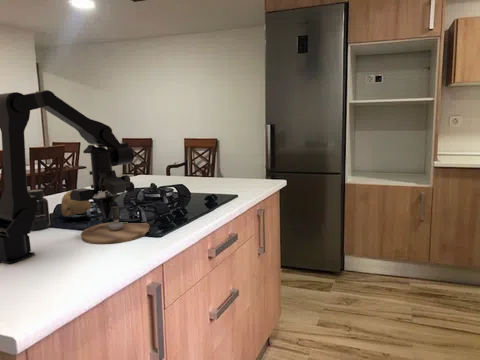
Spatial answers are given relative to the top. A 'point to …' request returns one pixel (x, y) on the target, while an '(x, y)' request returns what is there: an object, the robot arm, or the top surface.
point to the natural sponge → (73, 205)
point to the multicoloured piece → (115, 220)
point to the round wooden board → (114, 233)
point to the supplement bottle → (40, 211)
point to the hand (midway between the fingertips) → (106, 218)
